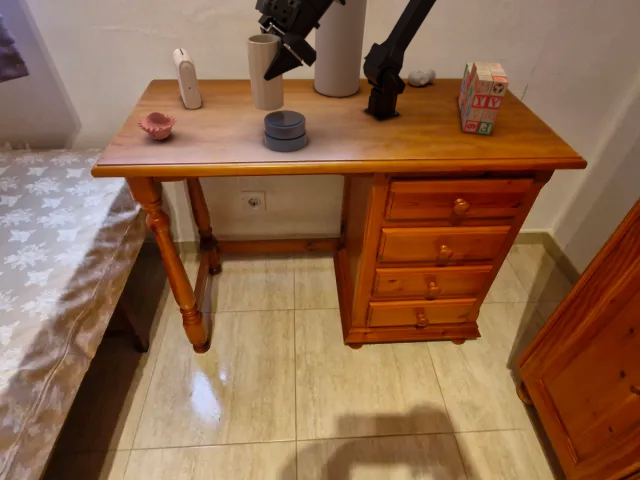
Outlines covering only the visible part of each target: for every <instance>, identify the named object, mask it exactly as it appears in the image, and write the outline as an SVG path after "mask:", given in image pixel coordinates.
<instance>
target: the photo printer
mask: <svg viewBox="0 0 640 480" xmlns="http://www.w3.org/2000/svg"><path fill="white" fill-rule="evenodd" d="M172 61H173V64H174V67H175V69H174V70H175V72H176V77H177V81H178V87H179V91H180V95H181V98H182V102H183V103H184V106H185V107H186V108H188V109H190V110H194V109H199V108H200V107H202V99H201V93H200V88H199V81H198V77H197V72H196V66H195V61H194V59H193V57H192V55H191V54H190V52H189V51H188V50H187V49H186V48H183V47H180V48H178V47H177V48H176V49H175V50H174V51H173V53H172Z"/></svg>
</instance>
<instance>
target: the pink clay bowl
mask: <svg viewBox="0 0 640 480" xmlns="http://www.w3.org/2000/svg"><path fill="white" fill-rule="evenodd" d="M176 122H177V120H176V117H174V115H171V116H169V114H166V115H165V114H164V113H163V112H159V111H154V112H151V113H149V114H148V115H147V116H146V117H143V119H142V120H141V119H139V122H137V127H138V128H140V129H142V130H143V131H144V132H146V133H147V136H149V138H152V139H154V140H158V141H159V140H164V139H166V138H168V137H169V135H171V133H172V129H173V126H174V125H176Z"/></svg>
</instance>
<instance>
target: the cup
mask: <svg viewBox="0 0 640 480" xmlns="http://www.w3.org/2000/svg"><path fill="white" fill-rule="evenodd" d="M277 40H278V41H280V42H281V38H280V37H279V36H277V35H273V34H261V33H258V34H252V35H249V36H247V37H246V38H245V41H246V51H247V61H248V62H247V63H248V71H249V80H250V89H251V98H252V99H251V100H252V106H253V107H254V109H256V110H258V111H265V112H274V111H278V110H280V109H282V108H283V107H284V105H285V97H284V96H285V95H284V77H283V76H284V73H283V74H281V75H279V76H277V77H275V78H273V79H271V80H269V81H266V80H265V79H264V78H263V77H264V75H265V73H266V71H267V69H268V67H269V66H270V64H271V62H272V61H273V59H274V57H275V56H276V54H277Z"/></svg>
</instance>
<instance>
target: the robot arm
mask: <svg viewBox="0 0 640 480" xmlns="http://www.w3.org/2000/svg"><path fill="white" fill-rule="evenodd" d="M334 1H335V2H336V3H338V4H341V5H343V6H344V5H345V4H346V0H257V1H256V3H255V7H254V9H255V10H256V11H258V12H259V13H260V14H262V15H261V16H260V18H259V19H258V20H257V23H259V24H260V26H259V30H260V34H273V35H277V36H279V37H280V38H281V42H280V41H278V40H277V54H276V56H275V57H274V59H273V61H272V62H271V64H270V66H269V67H268V69H267V71H266V73H265V75H264V77H263V78H264V79H265V80H266V81H269V80H271V79H273V78H275V77H277V76H279V75H281V74H283V75H284V74H285V73H288V72H290V71H292V70H295V69H297V68H299V67H304V64H305V65H306V66H308V67H309V68H311V67H312V66H313V65H314V64H315V61H316V59H317V52H316V51H315V48H313V47H312V45H311V44H310V43H309V42H308V41H307V40H306V39H307V37H308V36H309V35H310V33H311V32H312V31H313V30H315V29H317V30H318V28H319V27H320V26H321V25H320V24H319V23H318V22H319V20H320V19H321V18H322V16H323V15H324V14H325V12H326V11H327V10H328V8H329V7H330V6H331V4H332V3H333V2H334ZM436 2H437V0H409V1H408V2H407V4H406V6H405V8H403V9H404V10H403V11H402V13H401V14H400V16H399V18H398V20H397V21H396V23H395V24H394V25H393V28H392V30H391V32H390V33H389V35H388V36H387V38H386V39H385V40H384V41H383V42H381V43H380V44H379V43H378V42H373V44H372V45H371V47H370V48H369V51H368V53H367V54H366V55H365V56H364V58H363V59H364V63H363V65H362V70H363V71H362V72H363V75H364V77H365V78H366V79H367V84H368V85H370V86H371V87H372V88H370V94H369V96H368V101H367V107H366V108H364V112H365V113H367V114H368V115H370V116H372V118H375V119H377V120H378V121H384V120H387V119H390V118H391V119H392V118H394V117H398V116H400V112H398V110H396V108H397V103H398V96H399V95H401V94H404V91H405V90H406V87H407V84H406V83H405V81H404V80H403V79H402V78H401V76H400V73H401V71H402V69H403V66H404V60H405V59H404V58H405V53H406V51H407V49H408V47H409V46H410V45H411V44H410V43H411V42H412V40H413V39H414V37H415V36H416V34H417V32H418V31H419V29H421V26H422V25H423V23H424V21H425V20H426V19H427V17H428V15H429V13H430V11H431V10H432V8H433V7H434V5H435V4H436ZM303 63H304V64H303Z"/></svg>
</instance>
